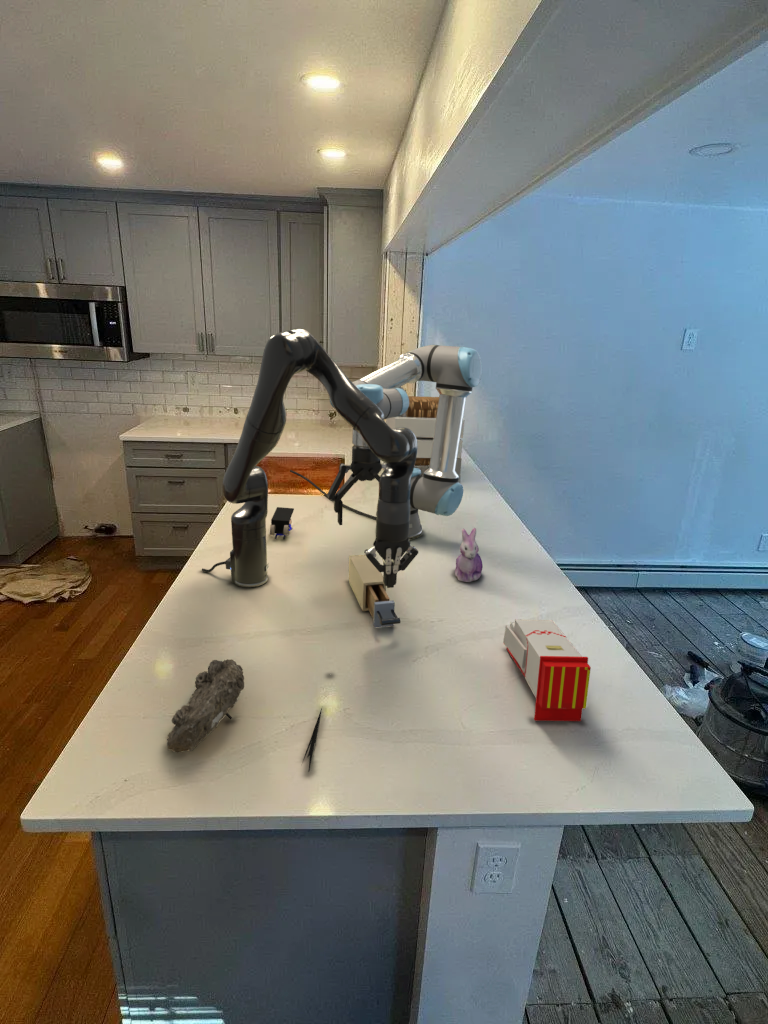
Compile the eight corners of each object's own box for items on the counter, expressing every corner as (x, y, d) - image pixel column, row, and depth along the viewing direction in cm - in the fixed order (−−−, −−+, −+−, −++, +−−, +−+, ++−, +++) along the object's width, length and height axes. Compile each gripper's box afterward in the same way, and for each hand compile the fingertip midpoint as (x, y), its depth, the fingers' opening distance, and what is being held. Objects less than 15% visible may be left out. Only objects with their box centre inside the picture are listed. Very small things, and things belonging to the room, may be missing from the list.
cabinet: (385, 609, 150) (386, 581, 147) (362, 611, 148) (363, 583, 145) (368, 579, 165) (369, 554, 162) (348, 581, 164) (349, 555, 161)
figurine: (465, 585, 164) (469, 538, 159) (445, 571, 172) (449, 525, 167) (491, 580, 168) (496, 533, 163) (471, 566, 176) (475, 521, 171)
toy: (549, 604, 136) (599, 663, 106) (544, 656, 138) (591, 727, 109) (499, 603, 135) (535, 662, 106) (495, 655, 138) (529, 726, 109)
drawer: (400, 637, 135) (401, 614, 133) (380, 640, 134) (381, 616, 132) (376, 594, 155) (377, 573, 153) (359, 596, 154) (359, 574, 152)
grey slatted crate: (382, 463, 289) (386, 382, 275) (445, 464, 293) (451, 384, 279) (390, 482, 257) (394, 392, 243) (460, 483, 261) (468, 394, 247)
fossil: (192, 660, 117) (244, 628, 112) (224, 691, 120) (276, 661, 115) (142, 746, 98) (202, 712, 93) (182, 779, 101) (242, 748, 96)
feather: (331, 679, 122) (336, 673, 122) (307, 777, 96) (313, 769, 95) (324, 675, 122) (329, 669, 121) (298, 772, 95) (304, 764, 95)
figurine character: (289, 545, 189) (295, 524, 202) (288, 525, 186) (294, 505, 199) (269, 545, 189) (276, 524, 202) (268, 525, 185) (275, 505, 199)
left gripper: (368, 525, 122) (366, 596, 128) (426, 521, 126) (421, 591, 132) (360, 513, 129) (358, 581, 135) (415, 510, 132) (411, 576, 138)
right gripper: (321, 450, 140) (321, 529, 148) (416, 447, 147) (412, 523, 154) (316, 443, 147) (316, 519, 154) (407, 441, 154) (403, 514, 161)
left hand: (389, 586), depth 133 cm, fingers closed
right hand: (364, 521), depth 154 cm, fingers open, 13 cm apart
